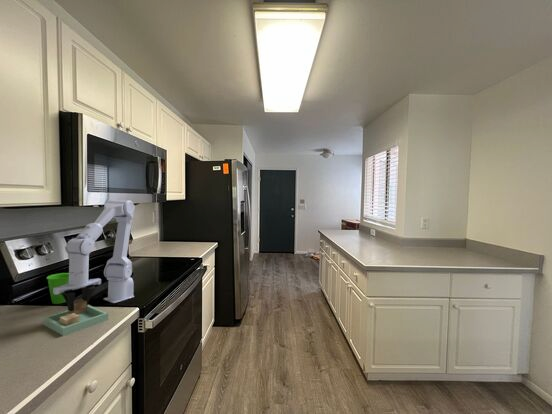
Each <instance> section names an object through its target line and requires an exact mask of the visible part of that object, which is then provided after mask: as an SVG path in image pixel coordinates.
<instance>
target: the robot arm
mask: <svg viewBox="0 0 552 414" xmlns="http://www.w3.org/2000/svg"><path fill="white" fill-rule="evenodd" d="M135 209H136V206H135V204H134V203H133V201H132V200H130V199H129V200H121V199H108V200H107V201H106V202H105V203H104V204H103V211H102V212H101V213H100V215H99V216H98V217H97V218H96V220H95V221H94V222H90V223H87V224H86V225H85V227H84V228H83V229H82V230H81V232H80V233H79V234H78V235H77V236H76V237H73V238H71V239H69V240H68V241H67V242H66V245H65V246H64V250H65V253H66V254H67V258H68V261H69V263H68V264H69V265H68V273H69V283H68V284H65V285H62V286H59V287H56V288H53V294H56V295H57V294H59V293H61V294H62V296H63V297H64V299H65V301H66V302H65V303H66V305H67V311H68V310H69V311H73V308H74V300H75V297H76V296H75V295H76V292H74V291H75V290H79V289H81V294H82V298H81V299H83V300H85V301H87V306H88V305H89V302H90V299H91V298H92V295H93V293H94V291H95V290H96V286H95V285H101V284H102V279H101V278H100V277H98V278H90V279H89V270H90V269H89V267H90V264H89V261H90V254H91V253H92V252H93V250H94V246H95V244H96V241H97V240H98V238H99V237H100V236H101V235H102V234H103V232H104V229H103V228H104V227H105V226H106V225H107V224H108V223H109V222H110V221H111V220H112V219H113V218H114V219H116V220H117V227H116V233H115V242H114V247H113V253H112V257H111V258H109V259H107V261H106V265H105V267H104V270H103V275H104V277H105V278H106V280H107V281H108V286H107V290H108V291H107V297H104V298H103V300H104V301H107V302H109V303H112V304H116V303H119V302H123V301H126V300H128V299H132V298H135V295H134V280H133V277H131V276H132V273H133V267H132V265H133V262H132V261H131V260H130V259H129V258H128V257H127V256H128V249H129V242H130V235H131V229H132V228H131V227H132V220H133V219H134V216H135Z"/></svg>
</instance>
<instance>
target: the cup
mask: <svg viewBox="0 0 552 414" xmlns="http://www.w3.org/2000/svg"><path fill="white" fill-rule="evenodd" d="M46 280H47V283H48V288H49V293H50V299H51V303H52V304H54V305H58V304H64V303H66V301H65V299H64V297H63V296H62V294H61V293H59V294H57V295H56V294H53V288H56V287H59V286H62V285H65V284H68V283H69V272H61V273H55V274H50V275H48V276H47V277H46Z"/></svg>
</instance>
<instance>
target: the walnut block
mask: <svg viewBox="0 0 552 414" xmlns="http://www.w3.org/2000/svg"><path fill="white" fill-rule="evenodd" d="M86 308H87V301H85V300H83V299H82V298H79V299H74V308H73V311H69V310H68V309H67V311H68V313H69V314H72V313H74V314H77V315H78V314H81V313H84V312H86Z"/></svg>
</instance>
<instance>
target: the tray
mask: <svg viewBox="0 0 552 414" xmlns="http://www.w3.org/2000/svg"><path fill="white" fill-rule="evenodd" d="M65 315H69V313H68V310H65V311H62V312H58V313H55V314H51V315H48V316H44V317H43V318H42V319H43V321H42V323H43V324H42V325H43V326H45V327H47V328H48V329H50V330H51V331H54V332H55V333H57V334H59V335H61V336H62V337H65V336H67V335H70V334H72V333H75V332H78V331H81V330H83V329H87V328H89V327H92V326H95V325H97V324H100V323H103V322H106V321H108V320H109V312H106V311H104V310H101V309H100V308H98V307H96V306H92V305H91V304H88V306H87V308H86V312H84V313H81V314H78V315H79V322H77V323H74V324H71V325H68V326H64V325H62V324H60V317H62V316H65Z"/></svg>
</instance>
